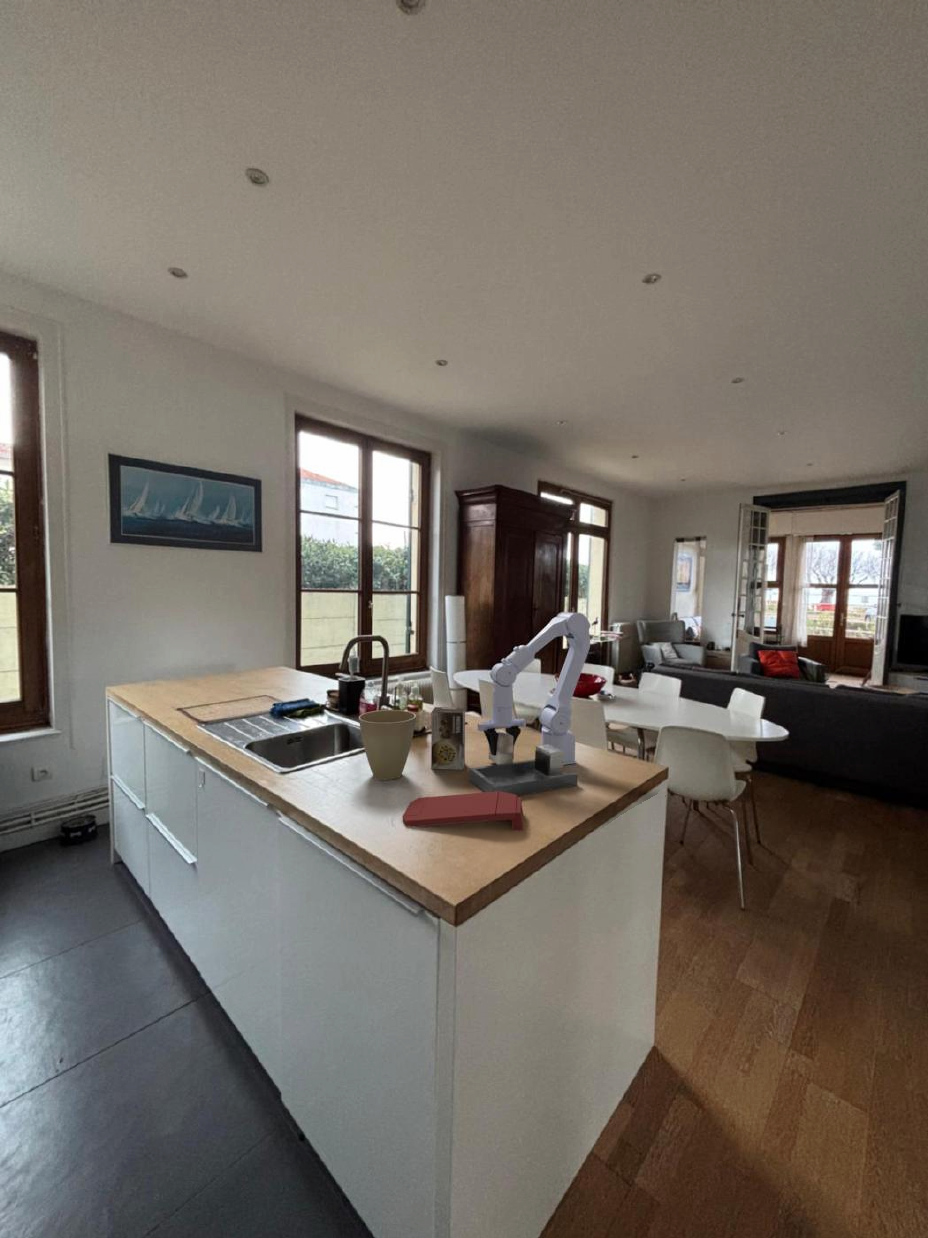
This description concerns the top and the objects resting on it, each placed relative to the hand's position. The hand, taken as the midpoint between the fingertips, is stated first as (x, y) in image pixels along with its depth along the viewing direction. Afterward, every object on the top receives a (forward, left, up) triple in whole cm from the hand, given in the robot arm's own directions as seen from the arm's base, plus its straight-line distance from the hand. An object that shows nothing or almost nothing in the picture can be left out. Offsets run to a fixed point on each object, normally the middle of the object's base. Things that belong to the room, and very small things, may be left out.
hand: (501, 753), depth 143 cm
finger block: (0, 0, -2) cm, 2 cm away
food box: (+14, -5, -4) cm, 16 cm away
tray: (+1, +14, -3) cm, 14 cm away
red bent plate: (+24, +27, -4) cm, 36 cm away
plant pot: (+32, -4, -4) cm, 33 cm away
